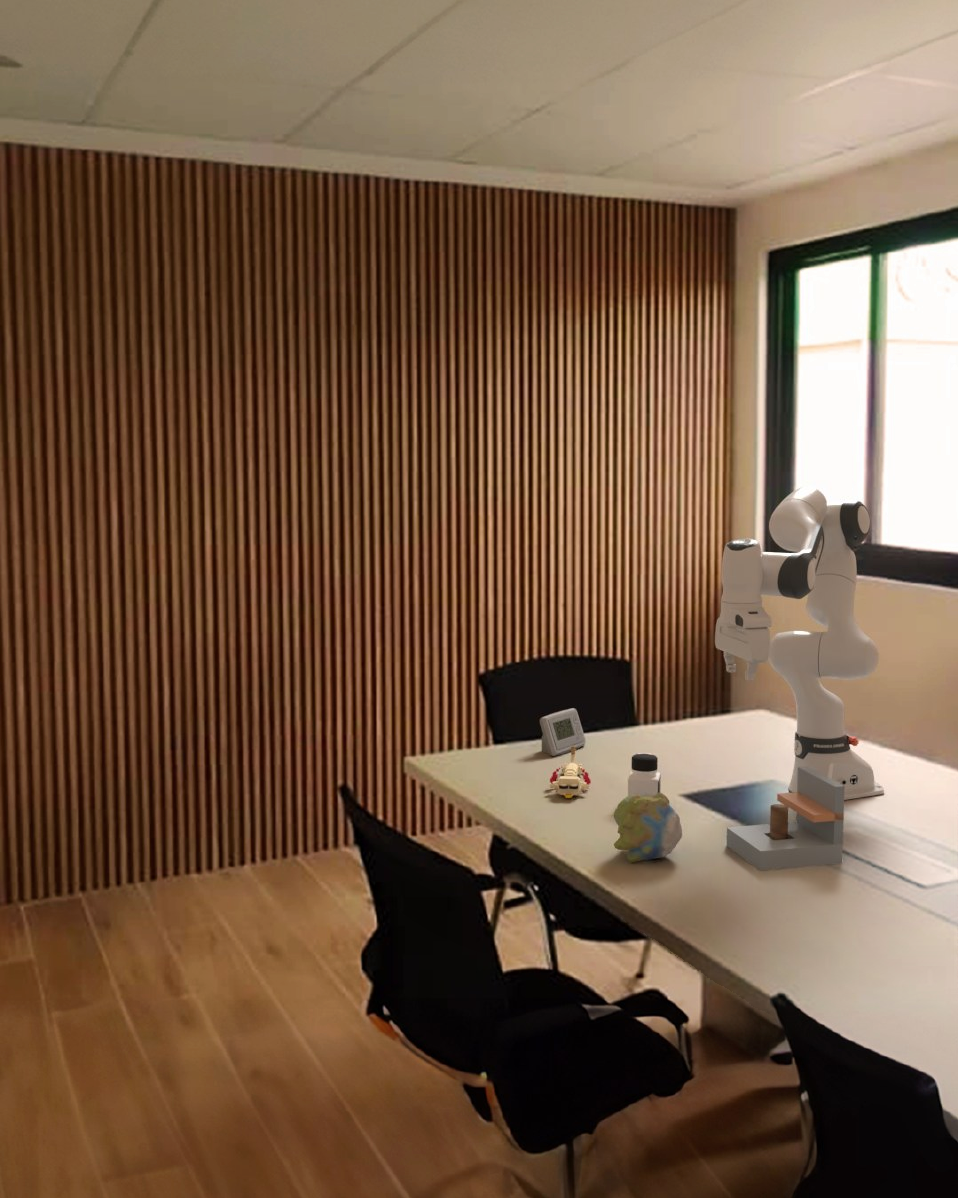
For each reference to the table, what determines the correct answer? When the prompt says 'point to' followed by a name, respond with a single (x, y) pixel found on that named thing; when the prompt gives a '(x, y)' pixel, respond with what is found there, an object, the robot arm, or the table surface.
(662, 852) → the relief earth globe
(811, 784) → the station
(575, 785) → the cream toy figure
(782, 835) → the peg
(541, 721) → the digital clock
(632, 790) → the medicine bottle
